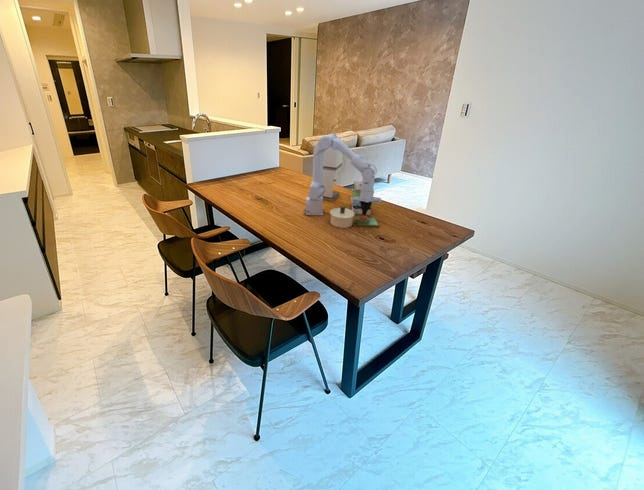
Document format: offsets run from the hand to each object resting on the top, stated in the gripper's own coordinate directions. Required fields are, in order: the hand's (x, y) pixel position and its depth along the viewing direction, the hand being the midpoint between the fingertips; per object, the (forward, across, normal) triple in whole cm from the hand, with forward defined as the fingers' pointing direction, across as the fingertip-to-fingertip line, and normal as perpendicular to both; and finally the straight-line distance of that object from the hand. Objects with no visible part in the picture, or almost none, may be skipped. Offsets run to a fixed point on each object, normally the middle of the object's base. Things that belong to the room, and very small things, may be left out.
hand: (363, 214), depth 152 cm
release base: (+5, +2, 0) cm, 5 cm away
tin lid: (0, -11, 0) cm, 11 cm away
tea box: (+5, +2, +18) cm, 19 cm away
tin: (+5, -11, 0) cm, 12 cm away
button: (+3, 0, 0) cm, 3 cm away
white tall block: (+5, -15, +37) cm, 40 cm away
